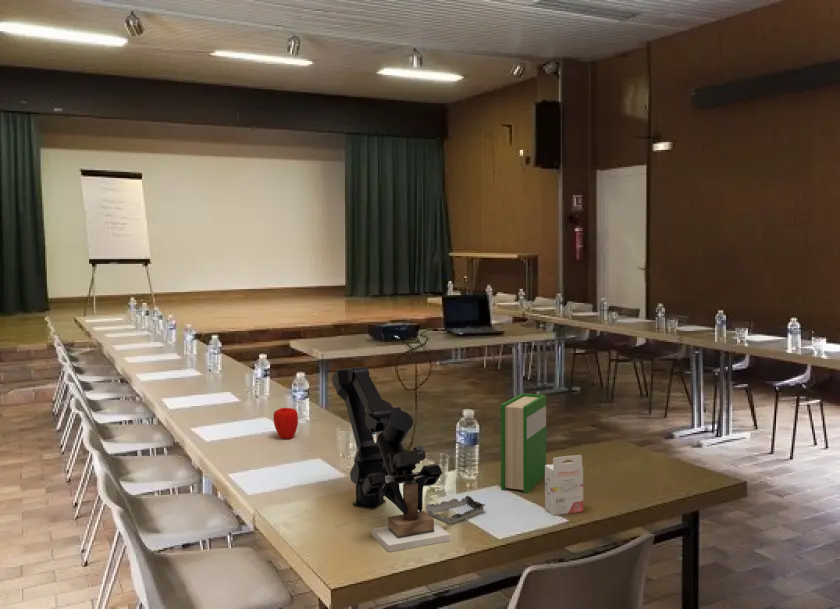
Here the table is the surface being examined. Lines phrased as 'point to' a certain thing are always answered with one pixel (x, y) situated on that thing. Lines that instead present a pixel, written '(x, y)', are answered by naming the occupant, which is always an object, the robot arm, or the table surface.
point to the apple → (286, 422)
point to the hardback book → (523, 441)
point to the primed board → (409, 538)
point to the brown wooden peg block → (410, 516)
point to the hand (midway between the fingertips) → (413, 512)
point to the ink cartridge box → (564, 485)
